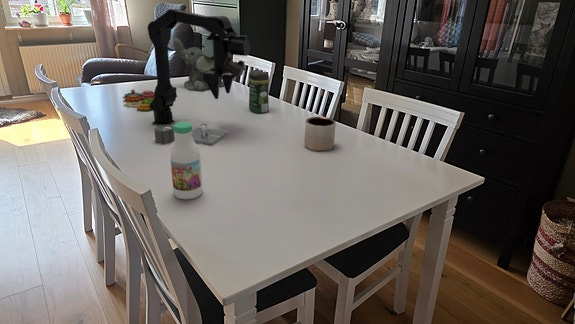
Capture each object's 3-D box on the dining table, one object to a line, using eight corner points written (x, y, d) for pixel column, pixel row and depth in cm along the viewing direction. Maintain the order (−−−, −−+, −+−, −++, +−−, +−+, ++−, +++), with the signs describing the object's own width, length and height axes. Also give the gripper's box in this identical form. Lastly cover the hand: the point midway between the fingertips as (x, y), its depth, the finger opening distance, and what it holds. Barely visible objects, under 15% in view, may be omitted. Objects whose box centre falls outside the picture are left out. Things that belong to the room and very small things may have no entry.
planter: (336, 143, 144) (338, 118, 140) (329, 153, 135) (332, 128, 131) (308, 139, 147) (310, 115, 143) (300, 149, 138) (301, 123, 134)
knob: (151, 142, 139) (150, 128, 137) (162, 136, 144) (161, 123, 142) (167, 145, 137) (166, 131, 135) (178, 138, 143) (176, 125, 141)
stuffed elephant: (174, 89, 208) (170, 37, 197) (197, 82, 226) (194, 34, 214) (204, 94, 201) (201, 40, 190) (225, 86, 219) (224, 36, 208)
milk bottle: (176, 186, 109) (170, 119, 101) (204, 186, 110) (199, 119, 102) (171, 200, 102) (163, 129, 94) (201, 200, 103) (196, 129, 95)
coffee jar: (246, 109, 180) (245, 69, 172) (261, 107, 184) (261, 67, 176) (256, 114, 172) (255, 73, 165) (271, 112, 176) (272, 71, 169)
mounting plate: (180, 140, 141) (179, 128, 139) (197, 129, 153) (197, 117, 151) (212, 145, 138) (211, 132, 136) (227, 133, 149) (227, 121, 147)
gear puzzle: (163, 111, 174) (162, 102, 172) (125, 114, 168) (123, 105, 166) (155, 94, 200) (154, 86, 198) (122, 97, 194) (121, 89, 192)
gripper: (229, 59, 128) (230, 105, 135) (251, 51, 144) (251, 92, 151) (200, 56, 131) (202, 101, 138) (225, 49, 147) (226, 89, 154)
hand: (222, 96), depth 145 cm, fingers open, 9 cm apart
